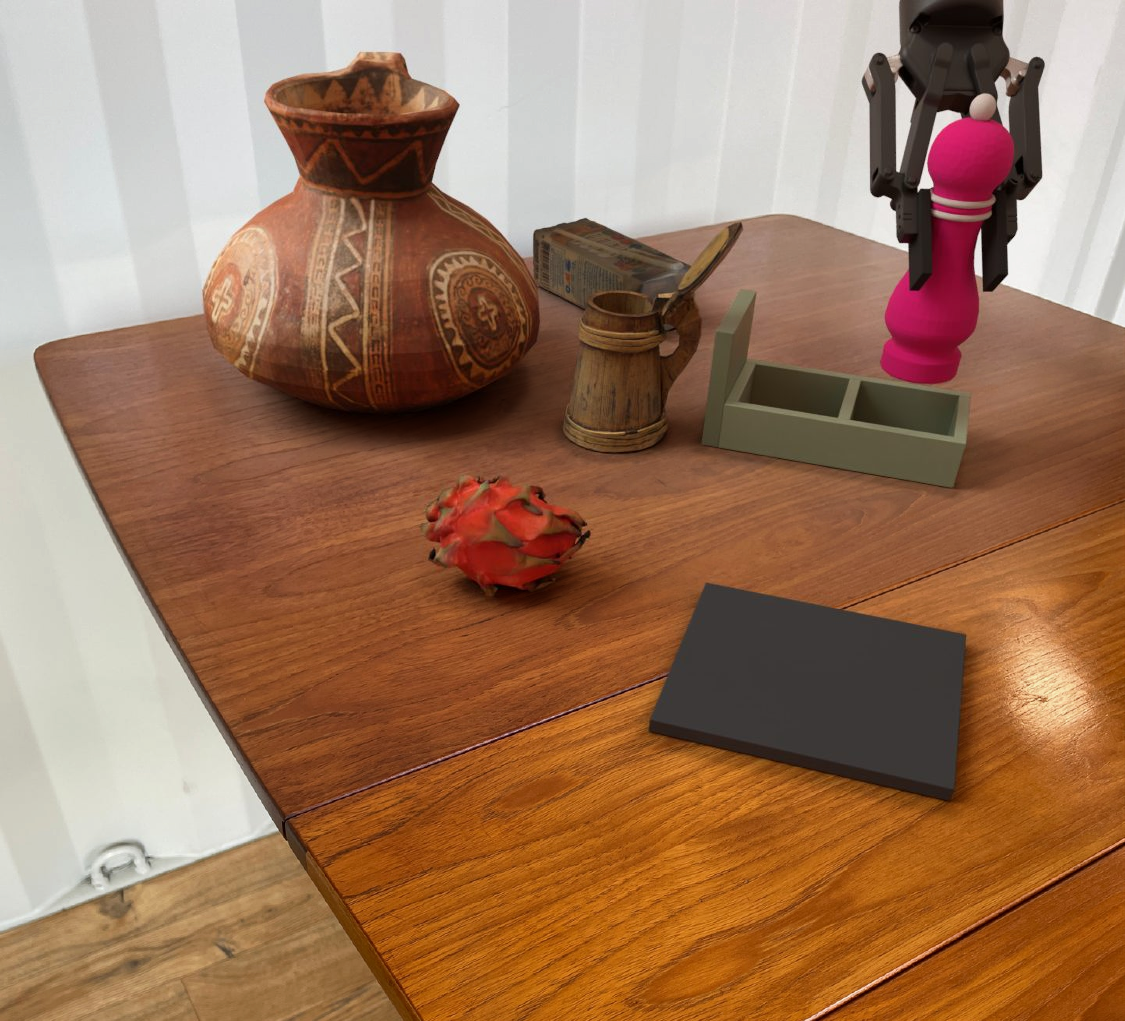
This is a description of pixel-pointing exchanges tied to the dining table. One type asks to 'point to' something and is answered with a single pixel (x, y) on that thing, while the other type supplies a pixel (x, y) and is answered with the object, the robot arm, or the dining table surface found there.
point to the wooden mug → (635, 358)
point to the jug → (369, 257)
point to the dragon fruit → (501, 533)
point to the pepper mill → (949, 249)
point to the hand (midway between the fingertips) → (958, 282)
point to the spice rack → (829, 413)
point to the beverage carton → (600, 263)
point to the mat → (818, 689)
